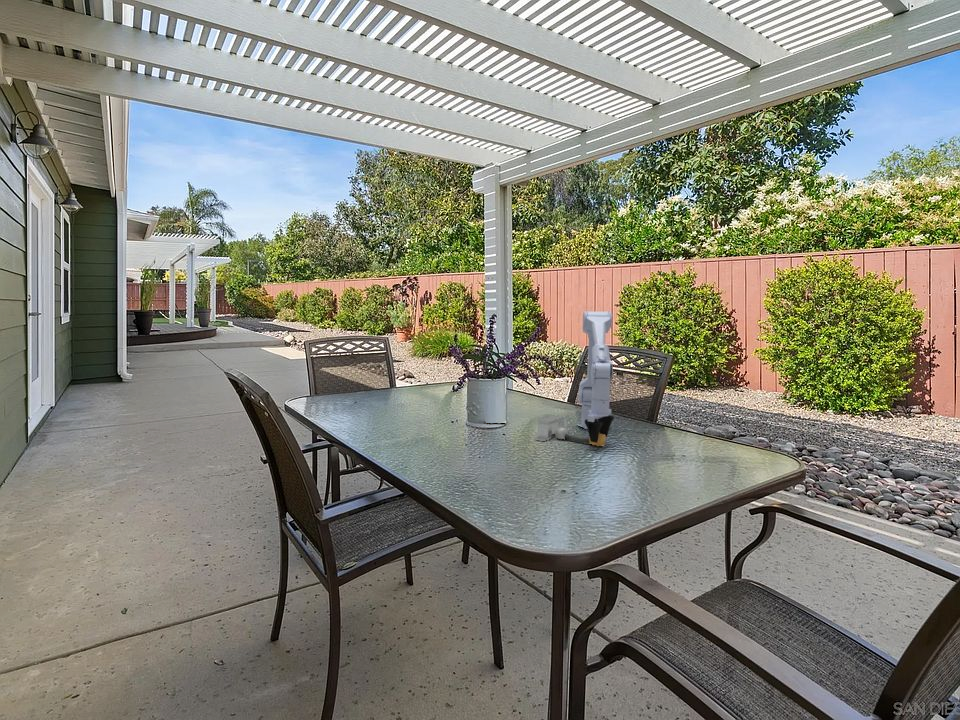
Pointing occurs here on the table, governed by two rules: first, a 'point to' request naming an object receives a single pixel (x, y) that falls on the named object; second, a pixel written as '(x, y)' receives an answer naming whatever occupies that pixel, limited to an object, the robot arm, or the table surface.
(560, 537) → the table surface
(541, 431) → the housing
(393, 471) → the table surface
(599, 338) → the robot arm
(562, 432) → the plug
